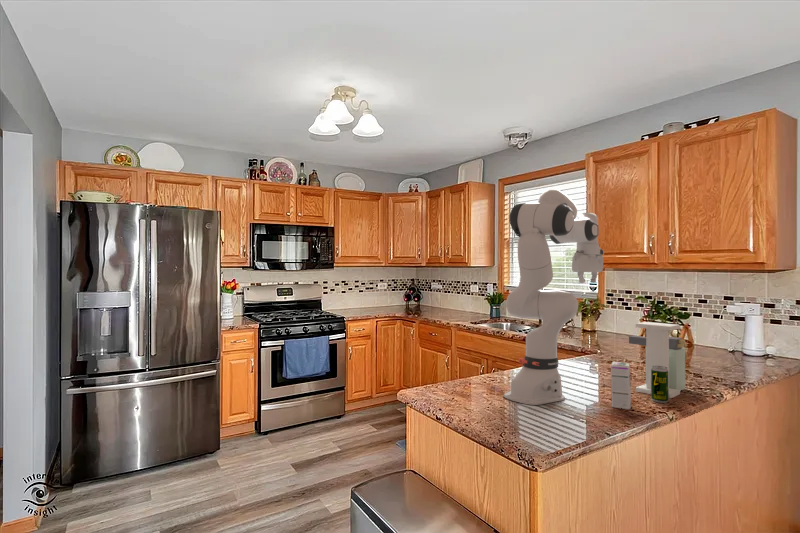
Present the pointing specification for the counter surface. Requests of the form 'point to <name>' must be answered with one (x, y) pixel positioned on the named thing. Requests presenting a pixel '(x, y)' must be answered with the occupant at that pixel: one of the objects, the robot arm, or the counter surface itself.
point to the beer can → (659, 384)
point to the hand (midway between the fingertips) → (587, 282)
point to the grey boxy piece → (673, 342)
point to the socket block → (676, 369)
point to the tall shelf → (656, 351)
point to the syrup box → (620, 385)
